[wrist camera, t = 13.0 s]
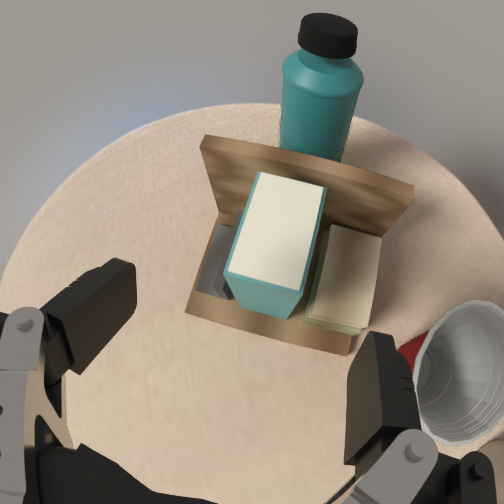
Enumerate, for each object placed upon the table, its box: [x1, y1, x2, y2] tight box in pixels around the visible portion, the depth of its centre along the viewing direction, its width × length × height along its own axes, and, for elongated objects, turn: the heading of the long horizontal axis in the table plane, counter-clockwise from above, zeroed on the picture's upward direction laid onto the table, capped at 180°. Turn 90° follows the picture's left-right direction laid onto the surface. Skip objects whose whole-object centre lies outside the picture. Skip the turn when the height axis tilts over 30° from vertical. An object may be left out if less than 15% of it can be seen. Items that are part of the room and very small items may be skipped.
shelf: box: [185, 135, 414, 356], centre depth 24 cm, size 16×12×12 cm
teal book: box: [223, 171, 327, 320], centre depth 23 cm, size 4×7×12 cm, turn 163°
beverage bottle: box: [278, 13, 364, 162], centre depth 24 cm, size 6×7×20 cm
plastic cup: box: [396, 299, 504, 447], centre depth 20 cm, size 11×11×12 cm
